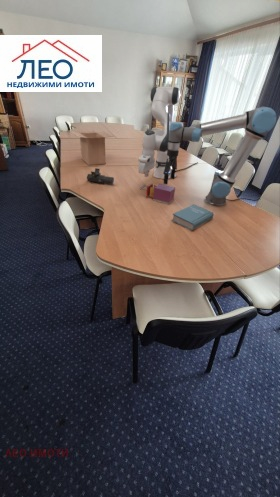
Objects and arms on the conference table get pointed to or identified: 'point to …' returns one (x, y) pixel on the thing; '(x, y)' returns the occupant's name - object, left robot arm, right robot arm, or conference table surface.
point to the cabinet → (164, 193)
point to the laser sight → (99, 177)
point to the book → (192, 217)
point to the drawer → (149, 190)
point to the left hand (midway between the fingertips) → (146, 176)
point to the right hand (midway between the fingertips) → (168, 181)
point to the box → (92, 146)
